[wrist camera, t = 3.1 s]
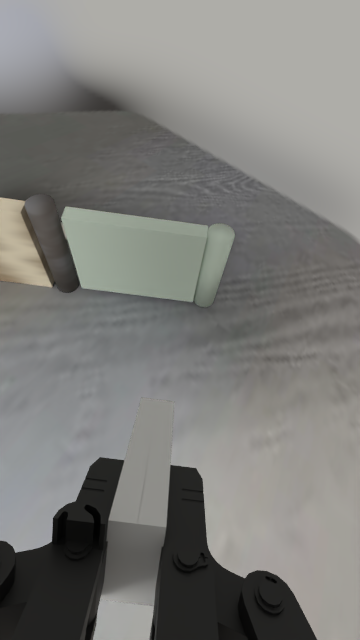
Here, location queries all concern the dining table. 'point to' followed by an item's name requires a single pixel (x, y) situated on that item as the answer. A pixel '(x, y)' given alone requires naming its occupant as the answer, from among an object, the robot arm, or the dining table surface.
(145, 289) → the panel
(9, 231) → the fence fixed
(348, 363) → the dining table surface
